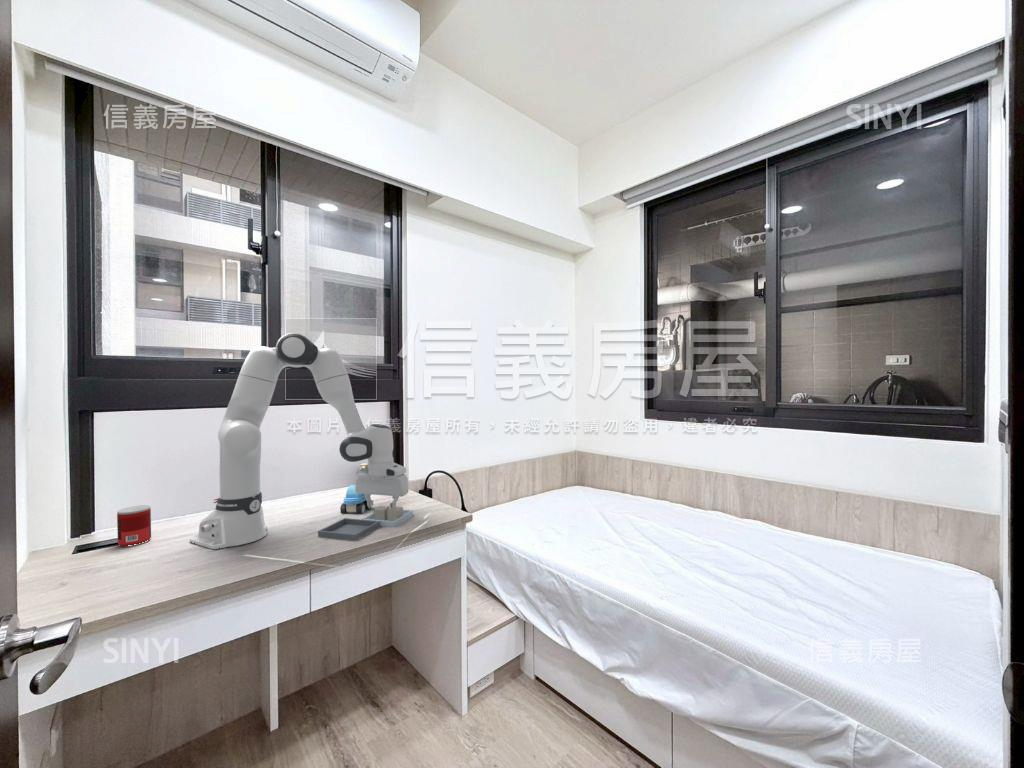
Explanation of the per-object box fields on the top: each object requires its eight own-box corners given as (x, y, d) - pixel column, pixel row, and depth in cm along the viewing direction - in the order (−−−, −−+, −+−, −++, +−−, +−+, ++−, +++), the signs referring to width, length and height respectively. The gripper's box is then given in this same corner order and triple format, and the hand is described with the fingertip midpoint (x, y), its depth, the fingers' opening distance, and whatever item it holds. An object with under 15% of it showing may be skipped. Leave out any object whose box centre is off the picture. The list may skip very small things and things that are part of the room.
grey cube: (387, 520, 149) (387, 509, 149) (393, 517, 153) (393, 506, 153) (397, 521, 148) (397, 510, 148) (403, 518, 152) (403, 507, 152)
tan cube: (374, 520, 150) (373, 509, 149) (379, 517, 153) (379, 506, 153) (384, 521, 149) (384, 510, 149) (389, 517, 153) (389, 506, 153)
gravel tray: (318, 538, 135) (317, 531, 135) (344, 524, 147) (344, 518, 147) (355, 542, 131) (355, 534, 131) (379, 528, 144) (379, 521, 144)
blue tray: (361, 525, 146) (360, 519, 146) (382, 514, 159) (382, 507, 159) (394, 529, 142) (394, 522, 142) (413, 516, 155) (413, 510, 155)
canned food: (157, 539, 136) (156, 505, 136) (129, 548, 129) (128, 513, 129) (140, 537, 138) (139, 504, 138) (111, 546, 131) (110, 511, 131)
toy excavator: (379, 503, 173) (378, 462, 173) (360, 516, 157) (359, 471, 156) (359, 503, 174) (358, 462, 174) (339, 516, 157) (338, 470, 157)
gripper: (351, 469, 151) (351, 507, 151) (401, 471, 145) (401, 511, 145) (361, 465, 157) (362, 502, 157) (410, 468, 151) (410, 506, 151)
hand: (381, 506), depth 151 cm, fingers open, 8 cm apart
